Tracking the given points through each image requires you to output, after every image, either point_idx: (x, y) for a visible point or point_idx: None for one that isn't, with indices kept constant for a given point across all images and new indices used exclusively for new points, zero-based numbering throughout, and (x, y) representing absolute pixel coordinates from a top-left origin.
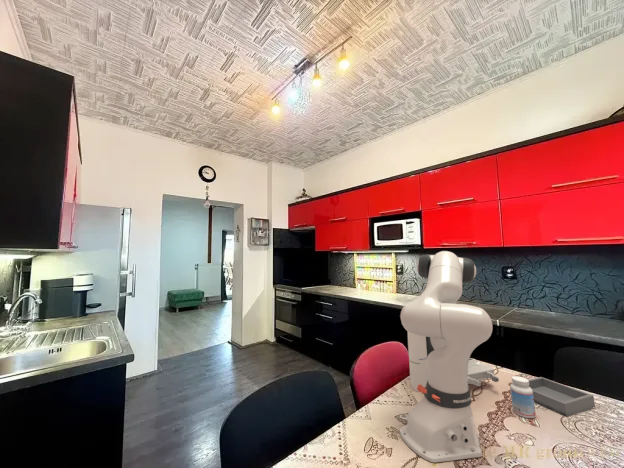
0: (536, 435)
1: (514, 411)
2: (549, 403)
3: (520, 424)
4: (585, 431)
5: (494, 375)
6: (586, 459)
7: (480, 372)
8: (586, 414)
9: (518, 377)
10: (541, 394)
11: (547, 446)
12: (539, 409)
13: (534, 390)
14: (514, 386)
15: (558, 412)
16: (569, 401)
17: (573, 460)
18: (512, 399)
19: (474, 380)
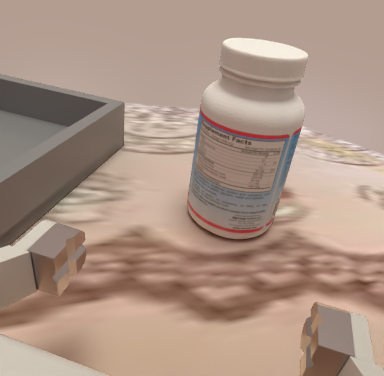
0: (342, 185)
1: (269, 226)
2: (97, 144)
3: (331, 214)
4: (184, 129)
5: (18, 241)
6: (322, 136)
7: (61, 357)
8: None
9: (248, 48)
10: (79, 131)
11: (365, 170)
12: (128, 186)
13: (44, 142)
14: (297, 101)
15: (112, 151)
16: (85, 95)
17: (355, 147)
18: (278, 182)
19: (371, 359)
